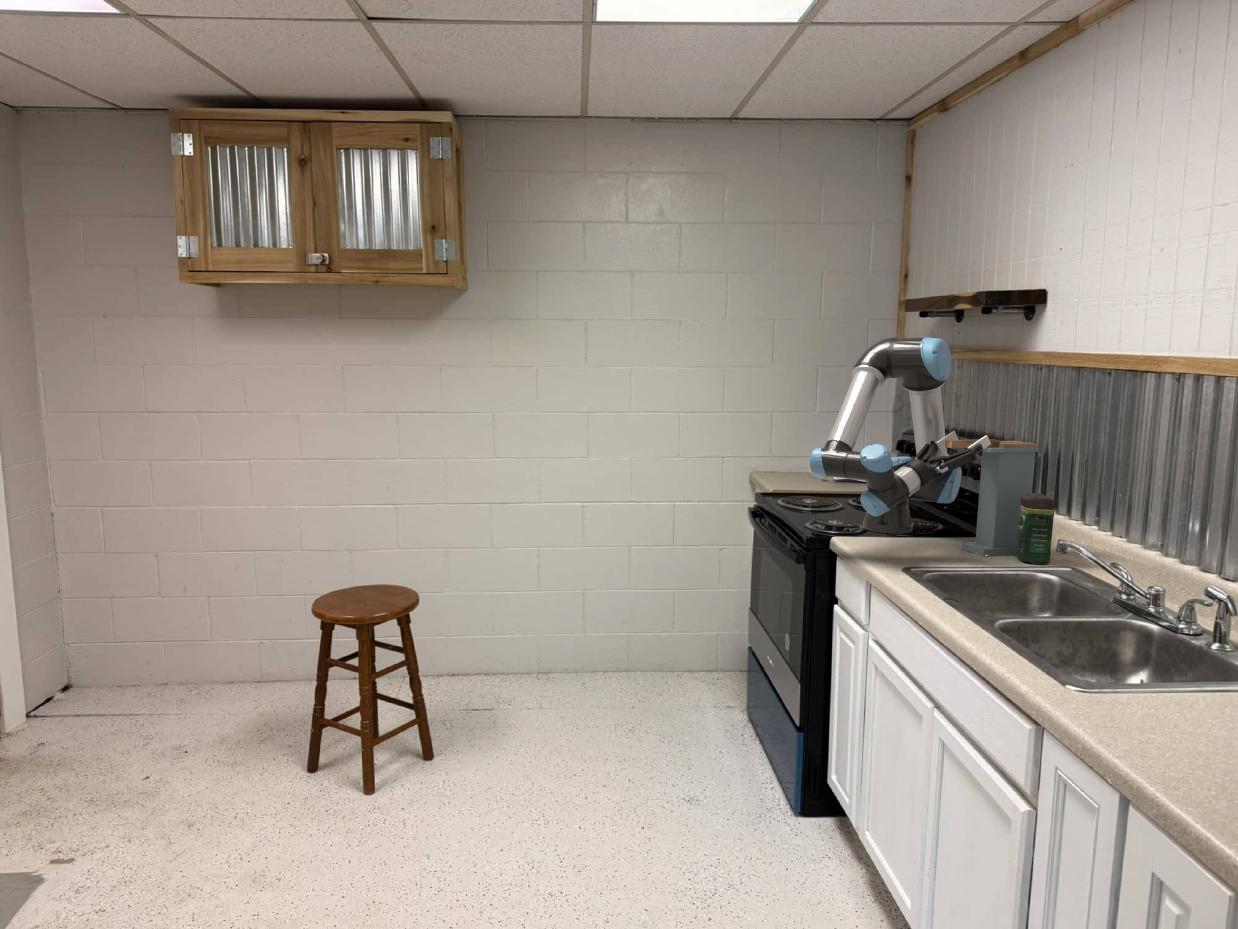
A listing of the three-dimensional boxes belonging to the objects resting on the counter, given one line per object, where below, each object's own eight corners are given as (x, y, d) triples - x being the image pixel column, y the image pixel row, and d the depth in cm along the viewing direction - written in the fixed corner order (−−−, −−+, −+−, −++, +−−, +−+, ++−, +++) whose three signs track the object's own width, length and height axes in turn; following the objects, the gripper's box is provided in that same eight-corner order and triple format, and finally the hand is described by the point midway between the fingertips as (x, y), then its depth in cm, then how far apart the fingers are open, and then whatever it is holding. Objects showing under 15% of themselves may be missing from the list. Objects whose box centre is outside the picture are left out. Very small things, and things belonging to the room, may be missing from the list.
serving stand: (961, 549, 245) (968, 445, 241) (1006, 546, 250) (1014, 444, 246) (983, 556, 237) (991, 448, 233) (1029, 553, 241) (1038, 448, 238)
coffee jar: (1053, 566, 227) (1059, 497, 225) (1021, 564, 229) (1026, 495, 226) (1043, 558, 236) (1049, 491, 234) (1013, 556, 238) (1018, 490, 236)
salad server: (939, 446, 238) (939, 438, 237) (1016, 445, 246) (1017, 438, 245) (957, 449, 230) (958, 441, 230) (1036, 447, 238) (1037, 440, 238)
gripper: (890, 482, 244) (947, 444, 248) (946, 496, 221) (1008, 454, 225) (880, 460, 242) (937, 422, 246) (936, 471, 219) (999, 429, 223)
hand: (971, 437), depth 236 cm, fingers open, 12 cm apart
